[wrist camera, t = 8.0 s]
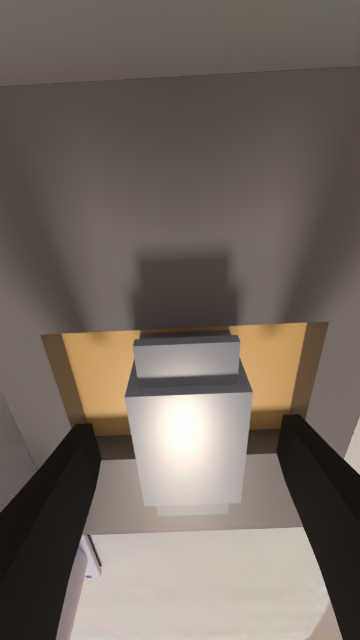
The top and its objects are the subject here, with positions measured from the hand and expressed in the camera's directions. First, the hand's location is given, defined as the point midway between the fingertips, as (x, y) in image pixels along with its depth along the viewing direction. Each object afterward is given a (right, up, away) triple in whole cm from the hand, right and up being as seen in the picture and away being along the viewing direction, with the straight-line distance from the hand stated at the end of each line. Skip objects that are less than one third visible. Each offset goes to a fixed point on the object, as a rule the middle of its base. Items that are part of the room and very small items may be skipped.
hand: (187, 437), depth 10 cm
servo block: (0, +1, +3) cm, 3 cm away
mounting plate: (0, +2, +3) cm, 4 cm away
